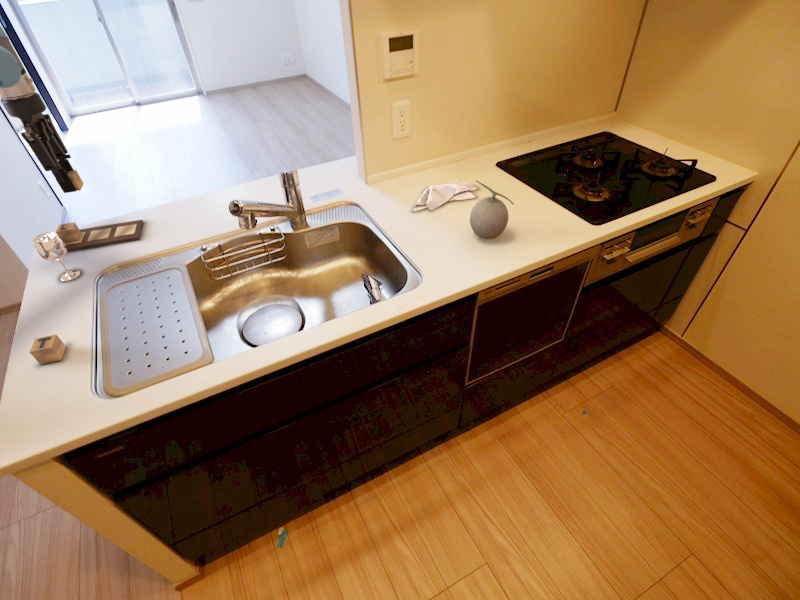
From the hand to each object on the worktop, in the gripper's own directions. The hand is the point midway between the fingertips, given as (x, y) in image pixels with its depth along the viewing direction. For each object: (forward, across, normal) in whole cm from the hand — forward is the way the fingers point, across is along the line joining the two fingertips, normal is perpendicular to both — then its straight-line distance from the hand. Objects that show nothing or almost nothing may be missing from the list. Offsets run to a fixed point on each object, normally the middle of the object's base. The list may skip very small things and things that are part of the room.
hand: (72, 187), depth 114 cm
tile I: (0, 0, 0) cm, 0 cm away
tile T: (+16, -47, +1) cm, 50 cm away
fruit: (+16, -35, -108) cm, 115 cm away
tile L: (+15, 0, +7) cm, 17 cm away
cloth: (+16, -9, -104) cm, 106 cm away
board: (+16, 0, 0) cm, 16 cm away
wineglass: (+16, -17, +4) cm, 24 cm away
